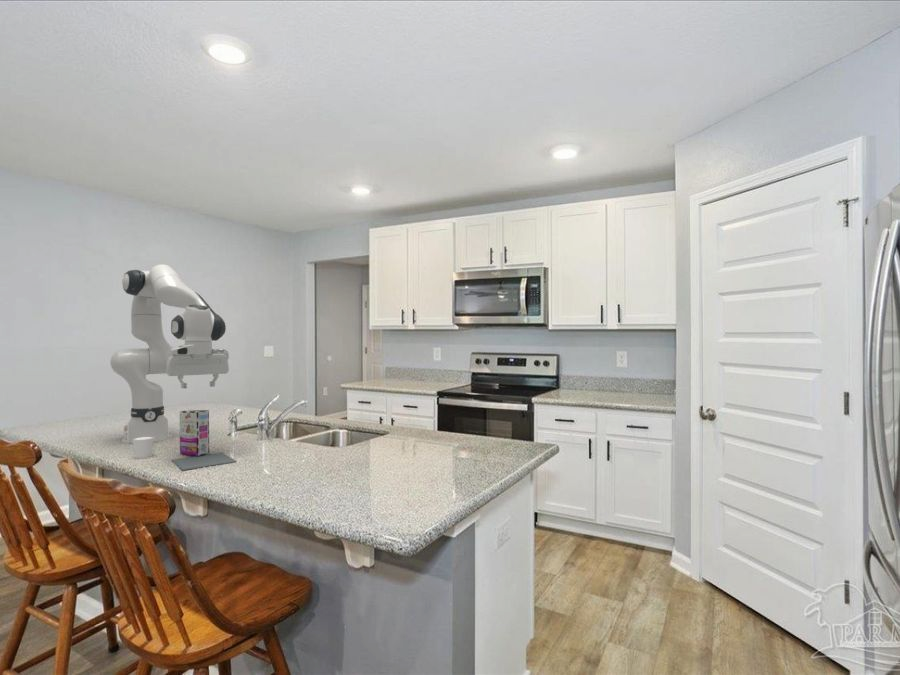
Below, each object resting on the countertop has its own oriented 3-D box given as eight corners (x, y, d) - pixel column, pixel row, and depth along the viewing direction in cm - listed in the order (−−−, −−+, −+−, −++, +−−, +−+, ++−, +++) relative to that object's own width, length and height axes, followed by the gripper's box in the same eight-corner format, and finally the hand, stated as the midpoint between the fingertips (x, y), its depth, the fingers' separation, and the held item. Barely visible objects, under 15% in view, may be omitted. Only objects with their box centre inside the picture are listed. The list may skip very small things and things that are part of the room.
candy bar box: (210, 454, 182) (209, 409, 183) (197, 456, 178) (197, 411, 178) (191, 452, 187) (191, 409, 188) (179, 454, 183) (178, 410, 184)
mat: (171, 461, 174) (171, 459, 174) (222, 453, 185) (222, 452, 185) (182, 471, 161) (182, 469, 161) (236, 462, 172) (236, 461, 172)
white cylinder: (158, 455, 183) (158, 436, 183) (145, 459, 176) (145, 440, 176) (141, 454, 183) (141, 436, 183) (127, 459, 177) (127, 439, 177)
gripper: (226, 348, 187) (226, 384, 187) (165, 349, 174) (165, 388, 174) (231, 349, 182) (231, 386, 182) (168, 350, 169) (168, 390, 169)
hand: (198, 387), depth 178 cm, fingers open, 8 cm apart
